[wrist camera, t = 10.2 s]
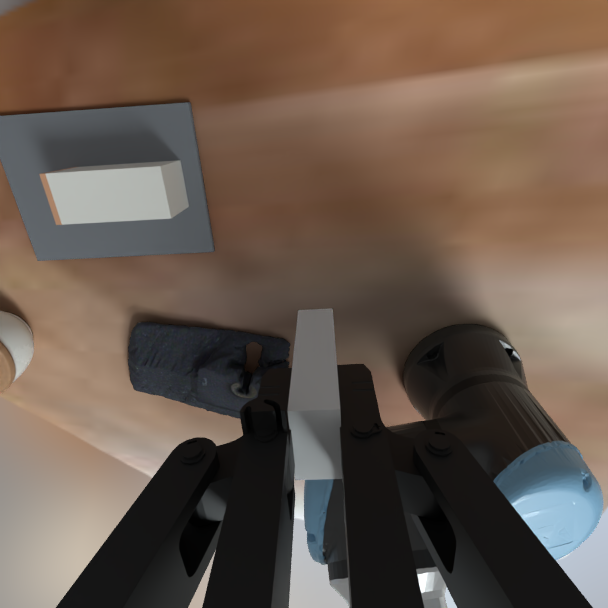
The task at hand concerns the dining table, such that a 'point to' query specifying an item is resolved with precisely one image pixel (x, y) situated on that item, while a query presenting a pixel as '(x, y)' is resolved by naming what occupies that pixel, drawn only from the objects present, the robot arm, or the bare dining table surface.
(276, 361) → the dark slate chunk
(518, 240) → the dining table surface
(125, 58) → the dining table surface
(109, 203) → the block
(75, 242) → the mat
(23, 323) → the lidded jar
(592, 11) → the dining table surface
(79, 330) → the dining table surface
